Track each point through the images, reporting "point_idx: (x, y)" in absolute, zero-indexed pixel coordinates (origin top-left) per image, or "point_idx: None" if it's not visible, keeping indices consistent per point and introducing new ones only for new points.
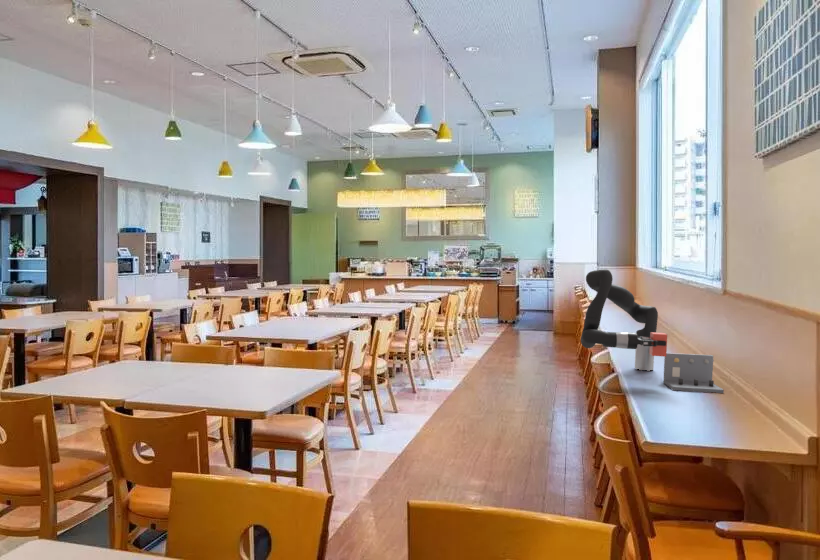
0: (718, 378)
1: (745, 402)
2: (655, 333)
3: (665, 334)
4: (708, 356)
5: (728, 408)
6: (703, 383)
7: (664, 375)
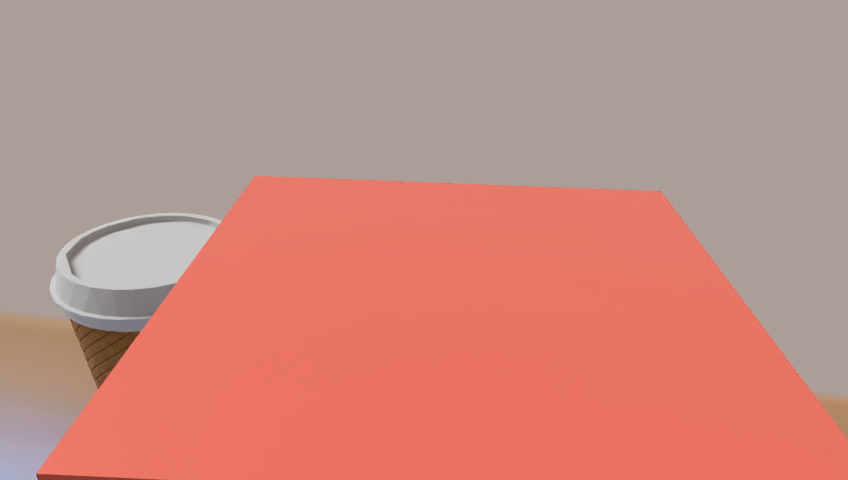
0: (69, 321)
1: (842, 402)
2: (576, 381)
3: (677, 213)
4: None
5: None
6: None
7: None
